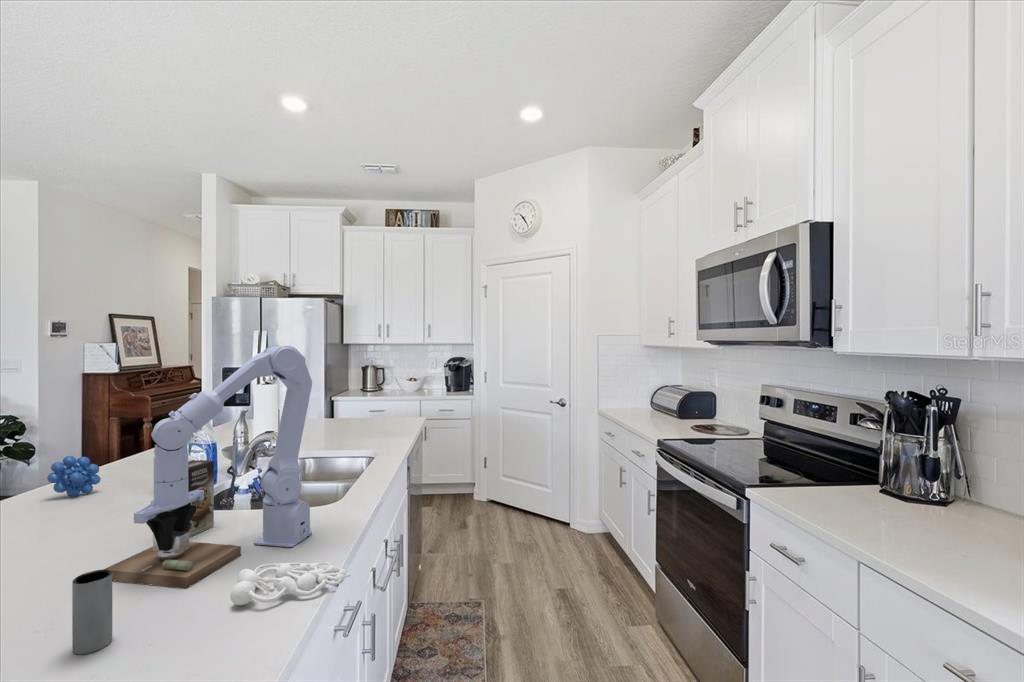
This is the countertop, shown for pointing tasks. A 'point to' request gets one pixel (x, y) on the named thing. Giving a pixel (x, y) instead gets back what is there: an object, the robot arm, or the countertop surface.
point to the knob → (173, 546)
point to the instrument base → (171, 577)
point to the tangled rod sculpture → (284, 581)
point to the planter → (91, 611)
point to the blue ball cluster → (74, 476)
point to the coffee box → (204, 480)
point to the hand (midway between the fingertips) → (171, 546)
